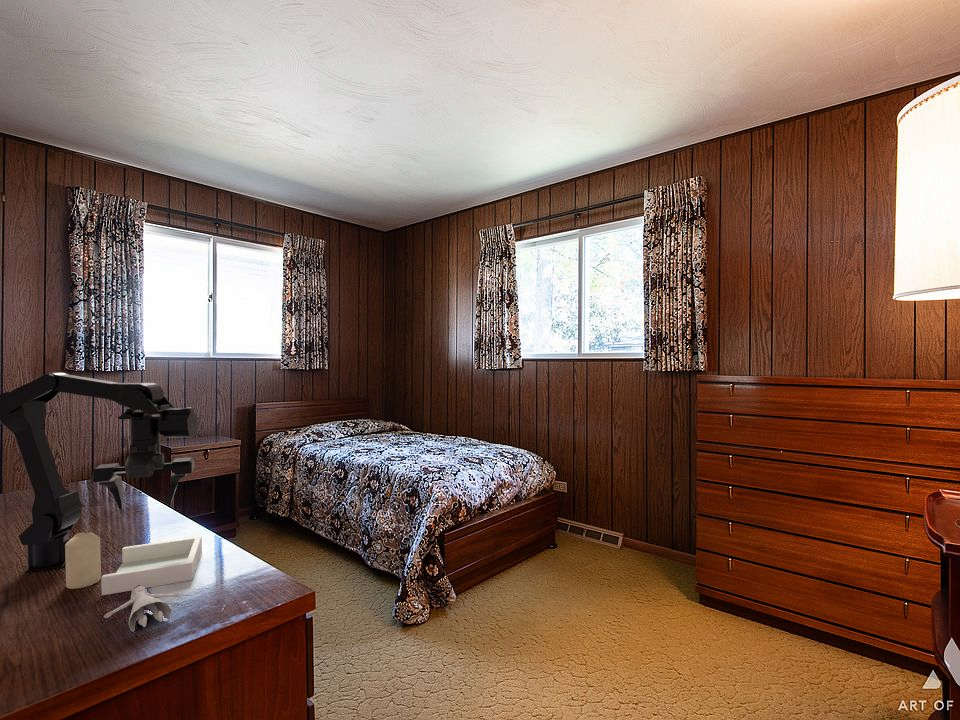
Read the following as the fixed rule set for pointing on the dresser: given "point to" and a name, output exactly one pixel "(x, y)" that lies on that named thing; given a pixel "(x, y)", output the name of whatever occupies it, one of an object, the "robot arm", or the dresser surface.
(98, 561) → the candle
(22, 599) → the dresser surface
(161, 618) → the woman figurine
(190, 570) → the box
